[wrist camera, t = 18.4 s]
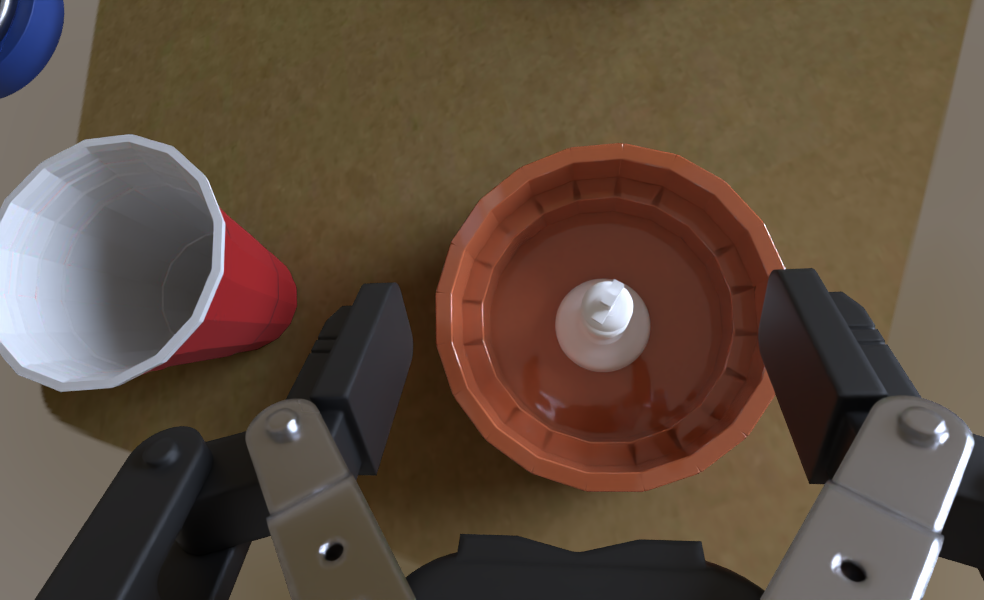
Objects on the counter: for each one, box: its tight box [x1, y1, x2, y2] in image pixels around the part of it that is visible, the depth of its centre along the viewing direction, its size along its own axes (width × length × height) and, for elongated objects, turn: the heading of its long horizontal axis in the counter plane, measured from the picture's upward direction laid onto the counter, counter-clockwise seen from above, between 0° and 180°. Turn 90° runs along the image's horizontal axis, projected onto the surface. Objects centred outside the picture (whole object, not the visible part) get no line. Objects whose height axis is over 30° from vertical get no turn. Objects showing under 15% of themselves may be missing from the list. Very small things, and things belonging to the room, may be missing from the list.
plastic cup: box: [0, 134, 297, 392], centre depth 29 cm, size 11×11×12 cm
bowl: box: [435, 143, 785, 492], centre depth 29 cm, size 16×16×6 cm
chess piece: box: [555, 279, 650, 372], centre depth 26 cm, size 5×5×10 cm
